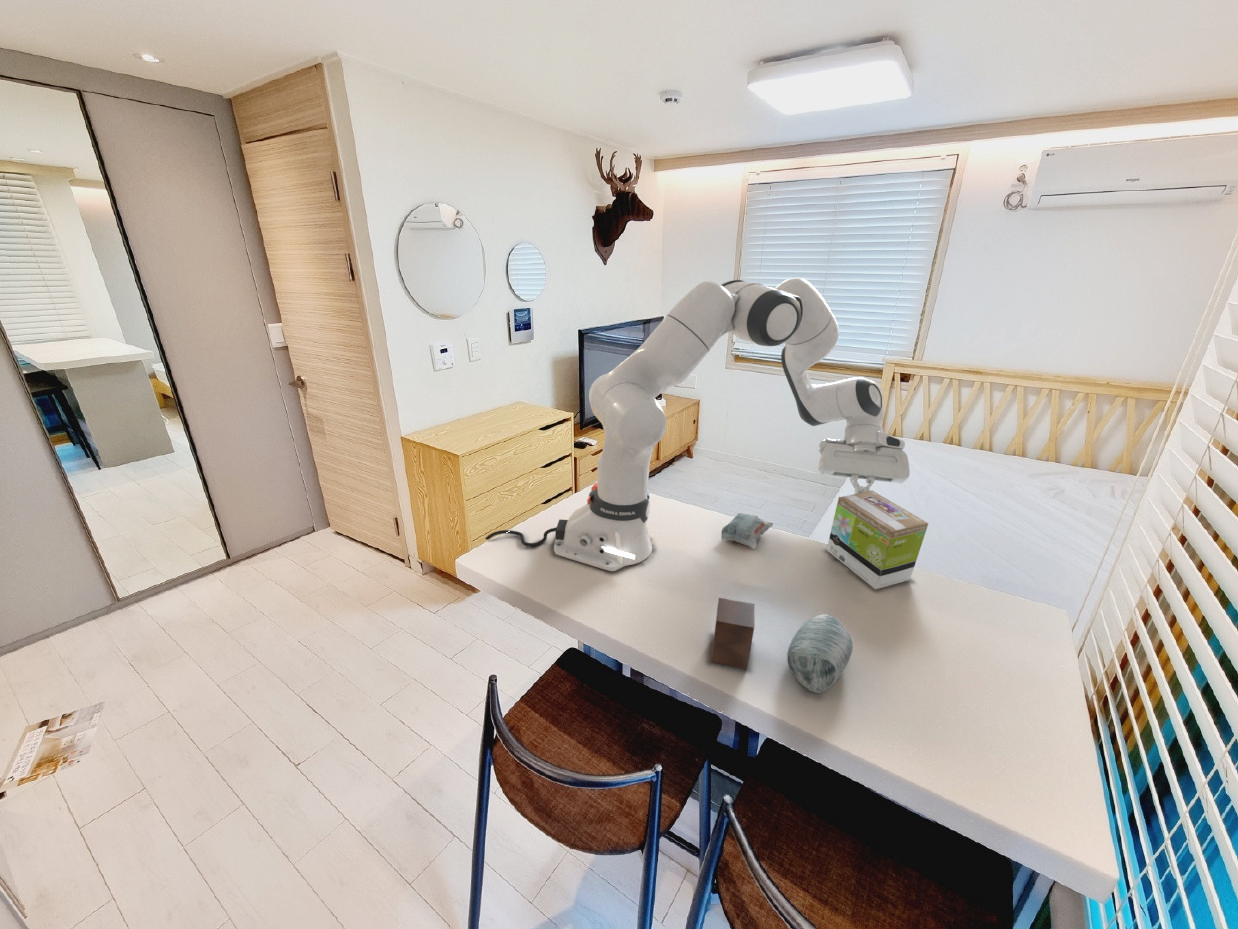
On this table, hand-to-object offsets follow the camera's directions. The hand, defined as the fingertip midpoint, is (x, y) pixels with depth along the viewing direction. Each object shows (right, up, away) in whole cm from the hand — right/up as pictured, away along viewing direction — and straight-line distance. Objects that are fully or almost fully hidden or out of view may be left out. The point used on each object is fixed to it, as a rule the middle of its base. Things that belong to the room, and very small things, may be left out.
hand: (861, 494), depth 121 cm
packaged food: (-28, -11, -1) cm, 30 cm away
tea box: (-4, -15, -10) cm, 19 cm away
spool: (-26, -27, -37) cm, 53 cm away
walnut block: (-40, -25, -34) cm, 58 cm away
